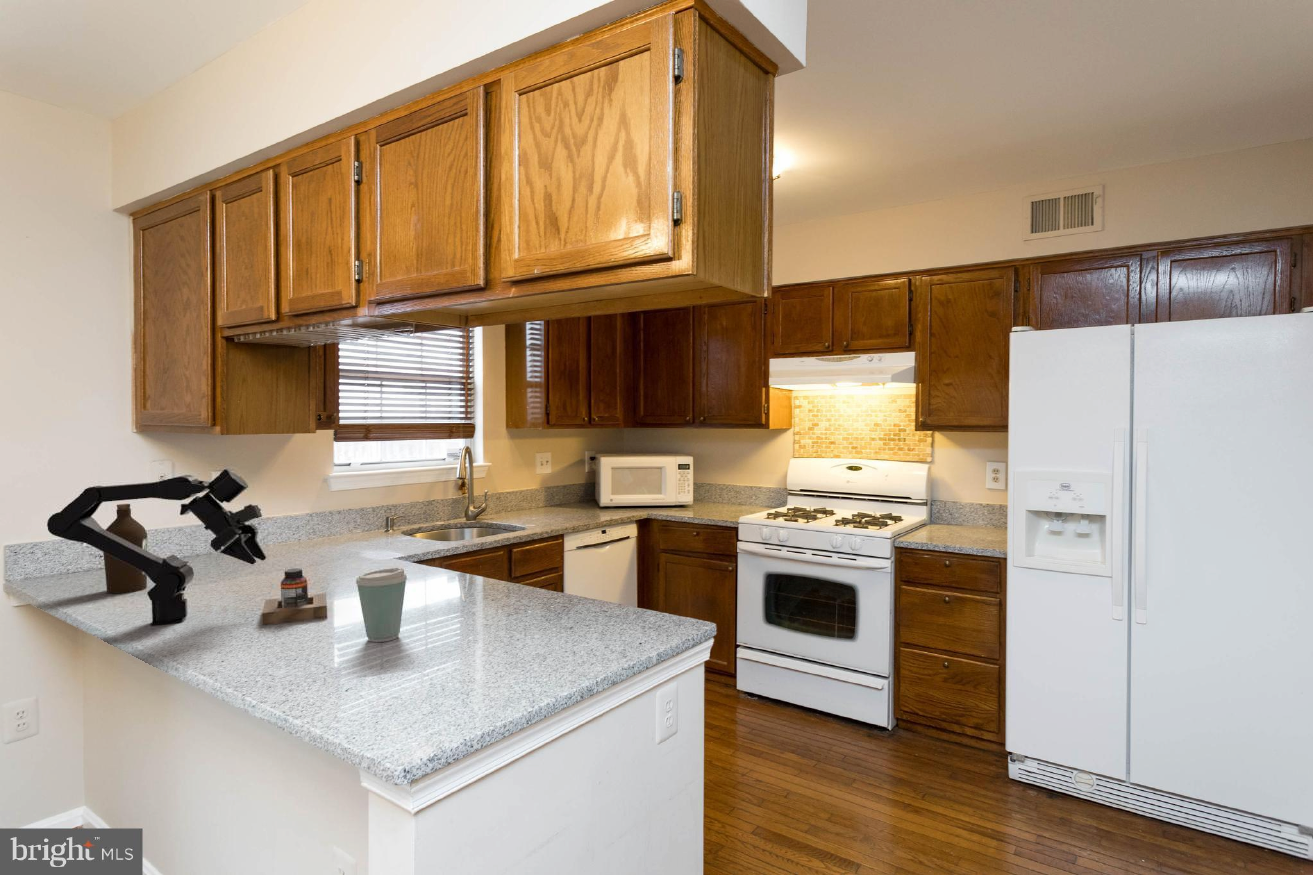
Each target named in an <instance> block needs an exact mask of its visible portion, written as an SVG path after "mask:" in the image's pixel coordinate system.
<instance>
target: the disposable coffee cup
mask: <svg viewBox="0 0 1313 875" xmlns="http://www.w3.org/2000/svg"><path fill="white" fill-rule="evenodd" d="M407 580H408V578H407V574H406V573H405V569H404V568H403V567H388V568H382V569H376V570H373V571H368V572H364V573H362V574H360V575H358V577H357V578H356V581H355V584H356V586H357V592H358V596H359V602H360V606H361V613H362V617H363V623H364V628H365V635H366V637H367V639H368V641H369V642H373V643H381V642H382V643H383V642H384V643H385V642H389V641H393V640H395V639H397V638H398V637H399V634H400V632H401V624H402V616H403V609H404V608H403V607H404V601H405V592H406V584H407V583H406V582H407Z"/></svg>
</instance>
